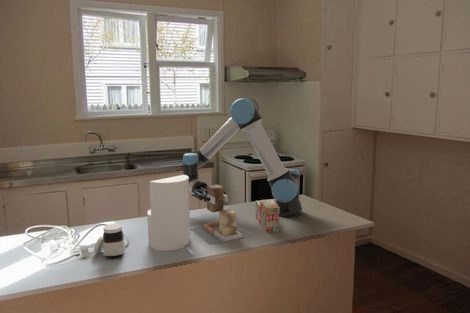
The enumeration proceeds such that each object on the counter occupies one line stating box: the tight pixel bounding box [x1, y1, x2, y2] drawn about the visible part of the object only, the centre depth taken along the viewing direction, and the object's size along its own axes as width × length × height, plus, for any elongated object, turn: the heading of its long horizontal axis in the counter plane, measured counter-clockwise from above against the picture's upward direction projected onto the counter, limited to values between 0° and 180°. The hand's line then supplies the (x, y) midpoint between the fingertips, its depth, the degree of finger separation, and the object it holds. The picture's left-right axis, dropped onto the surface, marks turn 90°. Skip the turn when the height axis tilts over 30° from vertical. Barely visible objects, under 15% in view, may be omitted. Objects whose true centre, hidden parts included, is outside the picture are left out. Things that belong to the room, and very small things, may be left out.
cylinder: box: [146, 174, 191, 252], centre depth 166 cm, size 17×17×28 cm
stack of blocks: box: [255, 199, 280, 234], centre depth 189 cm, size 21×6×12 cm, turn 10°
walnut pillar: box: [206, 184, 225, 213], centre depth 180 cm, size 6×6×11 cm
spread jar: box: [93, 223, 125, 260], centre depth 155 cm, size 12×11×12 cm
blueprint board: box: [190, 221, 256, 245], centre depth 178 cm, size 22×20×2 cm
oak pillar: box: [218, 208, 237, 237], centre depth 173 cm, size 6×6×11 cm
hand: (220, 200), depth 176 cm, fingers closed on walnut pillar, 5 cm apart
